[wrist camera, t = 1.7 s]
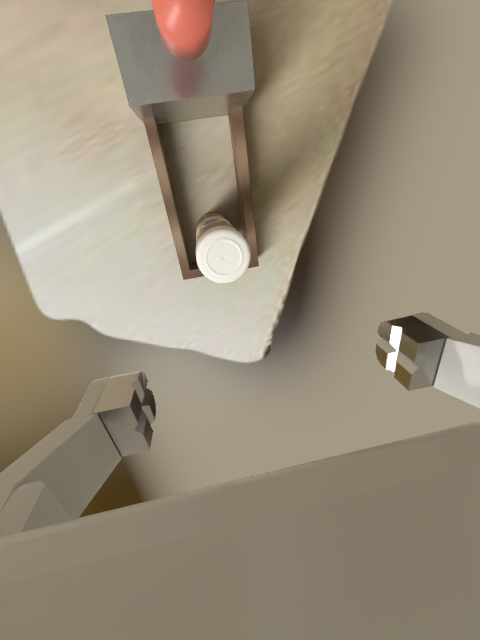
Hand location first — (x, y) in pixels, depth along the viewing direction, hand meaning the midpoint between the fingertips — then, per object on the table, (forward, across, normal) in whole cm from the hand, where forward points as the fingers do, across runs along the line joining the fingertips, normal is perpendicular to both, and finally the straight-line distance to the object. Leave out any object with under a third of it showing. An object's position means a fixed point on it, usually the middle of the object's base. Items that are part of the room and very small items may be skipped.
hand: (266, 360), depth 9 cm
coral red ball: (+15, 0, -14) cm, 21 cm away
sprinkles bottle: (+28, 0, 0) cm, 28 cm away
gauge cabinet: (+28, 0, -14) cm, 31 cm away
